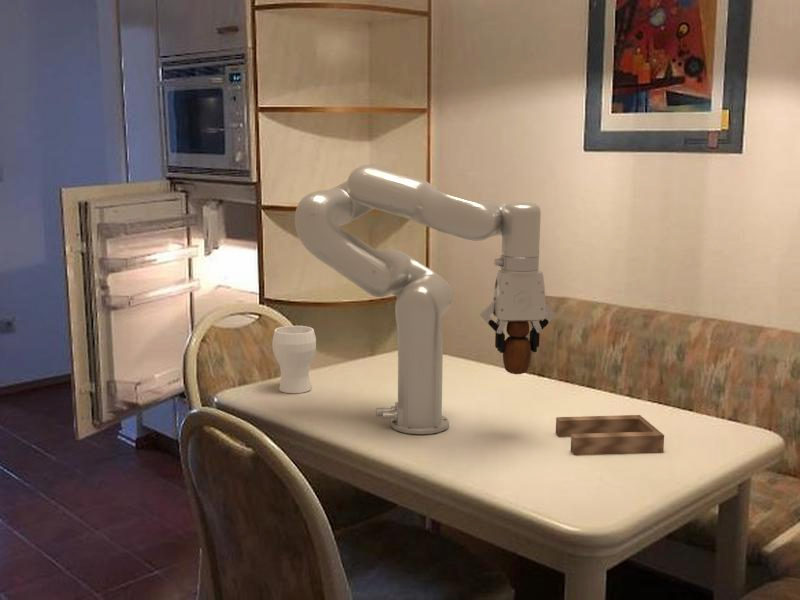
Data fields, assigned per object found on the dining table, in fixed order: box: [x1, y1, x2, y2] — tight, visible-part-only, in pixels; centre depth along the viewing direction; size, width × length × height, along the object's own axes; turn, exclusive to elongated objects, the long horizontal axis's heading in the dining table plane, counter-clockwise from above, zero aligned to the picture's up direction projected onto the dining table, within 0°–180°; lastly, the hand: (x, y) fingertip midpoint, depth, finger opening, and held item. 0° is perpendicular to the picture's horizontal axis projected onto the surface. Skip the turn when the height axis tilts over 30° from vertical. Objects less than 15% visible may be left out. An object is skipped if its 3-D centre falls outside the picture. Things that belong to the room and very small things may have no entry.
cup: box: [272, 325, 317, 394], centre depth 221 cm, size 11×11×15 cm
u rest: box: [555, 414, 665, 456], centre depth 185 cm, size 18×13×4 cm
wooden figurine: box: [502, 321, 532, 375], centre depth 185 cm, size 7×6×15 cm
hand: (516, 350), depth 186 cm, fingers closed on wooden figurine, 6 cm apart
